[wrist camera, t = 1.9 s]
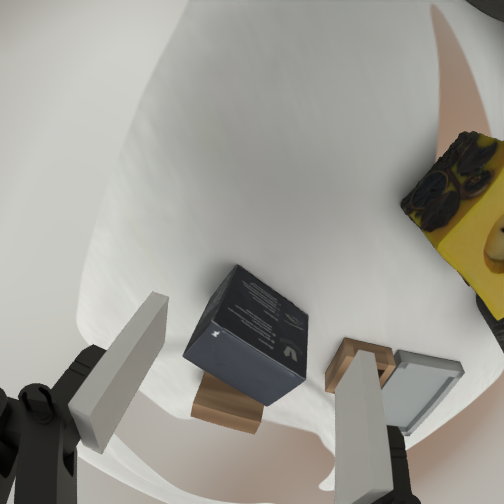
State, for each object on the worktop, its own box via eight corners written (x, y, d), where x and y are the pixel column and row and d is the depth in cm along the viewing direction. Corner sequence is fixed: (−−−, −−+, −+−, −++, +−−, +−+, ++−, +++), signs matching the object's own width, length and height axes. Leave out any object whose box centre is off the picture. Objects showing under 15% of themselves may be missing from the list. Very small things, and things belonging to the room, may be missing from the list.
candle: (516, 200, 24) (574, 237, 15) (457, 269, 28) (499, 326, 19) (461, 126, 22) (524, 138, 13) (396, 205, 27) (434, 250, 18)
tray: (398, 349, 33) (401, 361, 31) (460, 362, 32) (464, 372, 31) (349, 418, 39) (349, 430, 37) (407, 426, 39) (408, 436, 37)
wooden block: (206, 368, 38) (193, 402, 33) (267, 385, 38) (260, 422, 33) (203, 382, 40) (190, 416, 34) (261, 398, 39) (254, 434, 34)
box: (208, 298, 34) (178, 357, 25) (237, 262, 32) (212, 319, 23) (277, 344, 35) (266, 409, 27) (310, 314, 33) (308, 380, 24)
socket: (344, 337, 33) (346, 355, 31) (391, 348, 33) (395, 366, 30) (325, 373, 36) (325, 391, 33) (369, 382, 36) (371, 400, 33)
